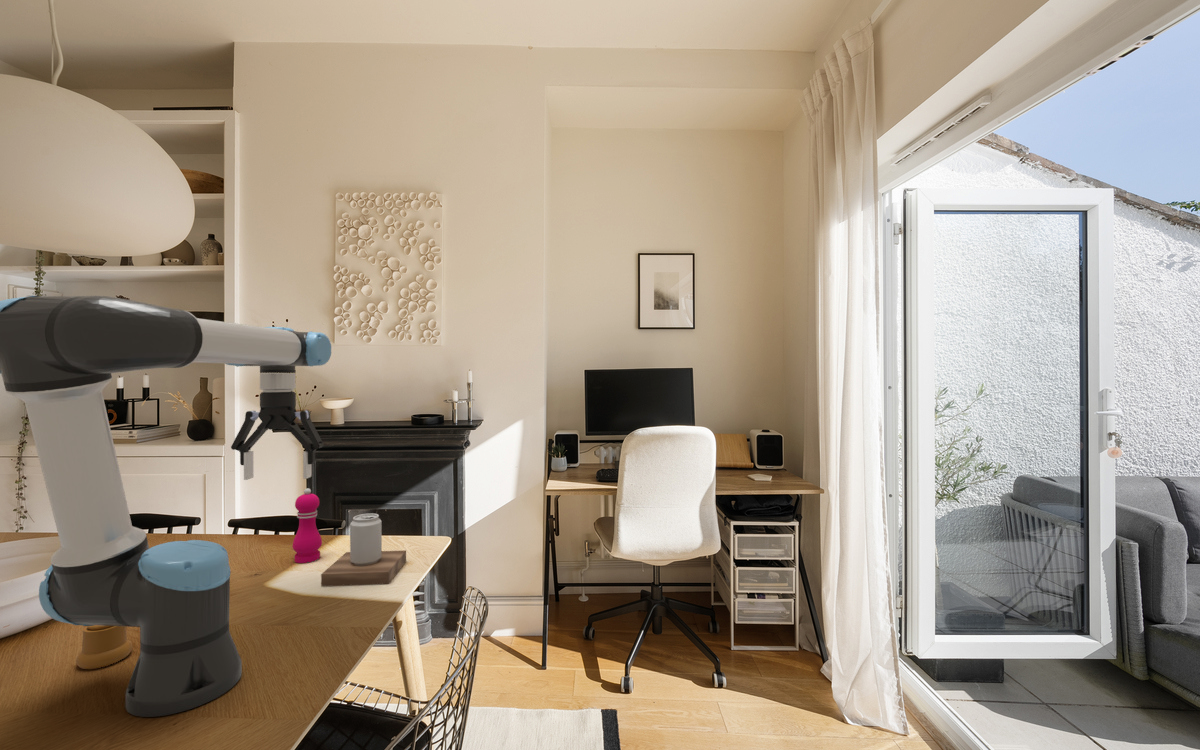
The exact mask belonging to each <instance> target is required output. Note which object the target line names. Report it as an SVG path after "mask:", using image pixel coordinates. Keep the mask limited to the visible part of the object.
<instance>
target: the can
mask: <svg viewBox="0 0 1200 750" xmlns="http://www.w3.org/2000/svg"><path fill="white" fill-rule="evenodd" d="M349 528H350V530H349V533H350V535H349V538H350V540H349V542H350V545H349V550H350V551H349V552H350V561H351V562H352V563H354V564H355V565H359V566H363V565H370V564H374V563H376V562H377V561H378V560H379V559H380V558H381V556H382V551H383V550H382V549H383V548H382V539H383V538H382V528H383V527H382V520H381V518H380V515H379V514H378V513H373V512H372V513H362V514H358V515H355V516H353V517H352V521H351V522H350V524H349Z"/></svg>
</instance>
